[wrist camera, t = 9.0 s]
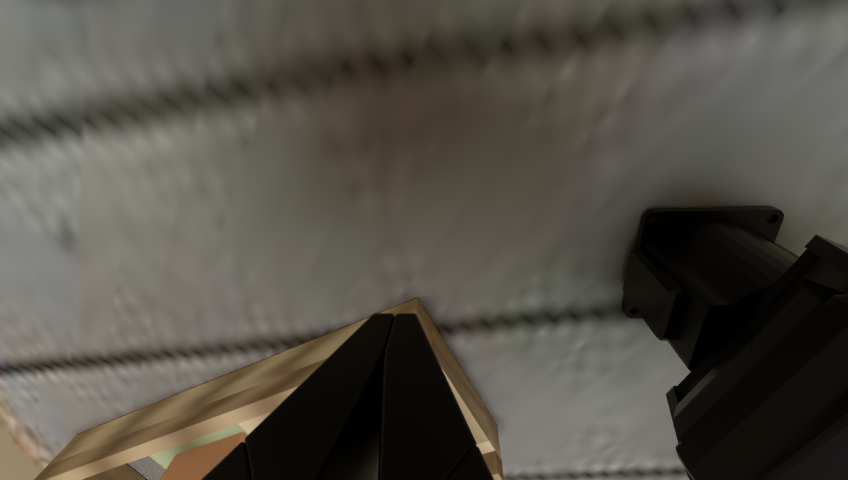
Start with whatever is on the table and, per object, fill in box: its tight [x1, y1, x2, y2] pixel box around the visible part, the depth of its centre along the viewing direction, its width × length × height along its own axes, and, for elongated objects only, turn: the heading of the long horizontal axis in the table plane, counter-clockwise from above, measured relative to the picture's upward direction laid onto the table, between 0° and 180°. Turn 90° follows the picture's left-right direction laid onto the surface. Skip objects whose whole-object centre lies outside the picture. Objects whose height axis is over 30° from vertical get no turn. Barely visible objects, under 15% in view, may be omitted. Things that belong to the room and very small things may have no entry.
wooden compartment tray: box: [34, 298, 504, 480], centre depth 27 cm, size 30×12×4 cm, turn 117°
